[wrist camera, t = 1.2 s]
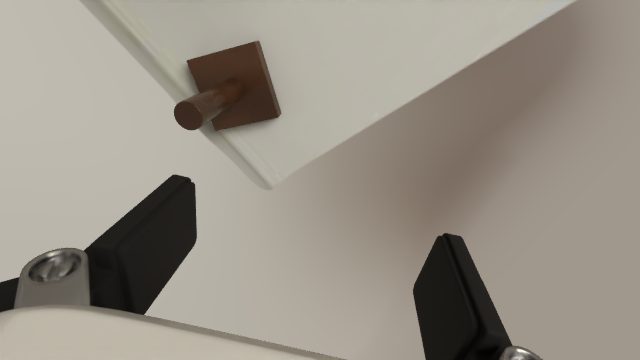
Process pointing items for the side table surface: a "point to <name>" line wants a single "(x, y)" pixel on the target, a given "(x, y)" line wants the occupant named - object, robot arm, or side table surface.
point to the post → (229, 90)
